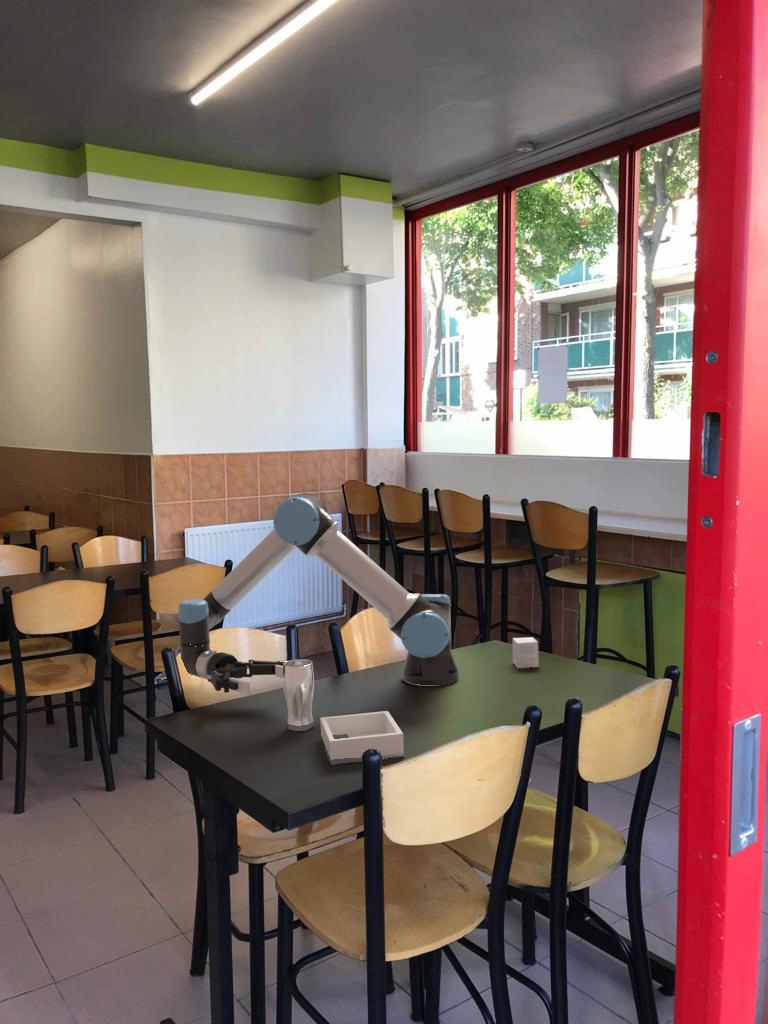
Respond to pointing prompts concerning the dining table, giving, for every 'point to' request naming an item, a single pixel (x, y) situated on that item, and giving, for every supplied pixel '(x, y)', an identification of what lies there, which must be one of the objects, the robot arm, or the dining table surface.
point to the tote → (362, 735)
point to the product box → (525, 652)
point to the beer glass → (298, 690)
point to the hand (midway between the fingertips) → (271, 681)
